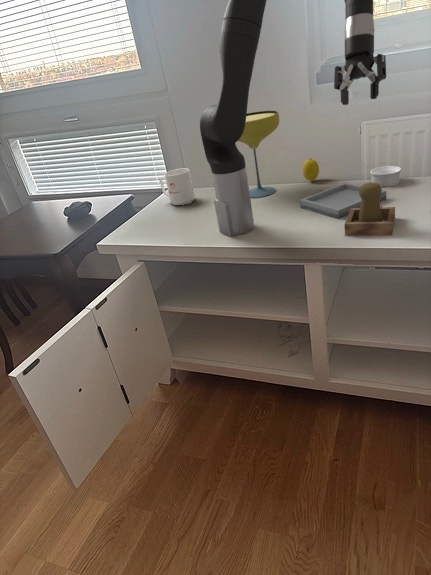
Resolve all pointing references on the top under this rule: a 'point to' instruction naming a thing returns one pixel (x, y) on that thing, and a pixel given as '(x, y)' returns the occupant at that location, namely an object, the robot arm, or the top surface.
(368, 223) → the walnut holder
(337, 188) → the grey tray
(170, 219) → the top surface
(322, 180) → the top surface
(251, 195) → the cocktail glass
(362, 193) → the cork
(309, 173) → the lemon
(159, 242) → the top surface
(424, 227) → the top surface
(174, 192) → the mug
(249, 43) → the robot arm
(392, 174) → the ramekin
